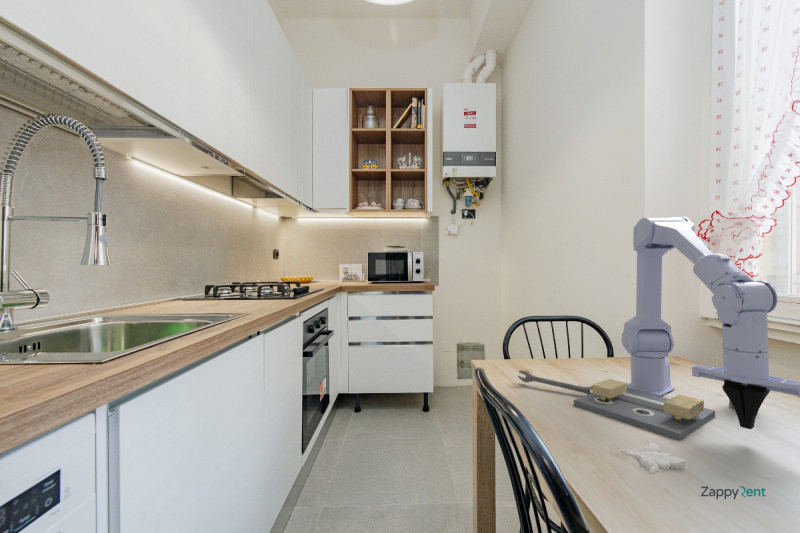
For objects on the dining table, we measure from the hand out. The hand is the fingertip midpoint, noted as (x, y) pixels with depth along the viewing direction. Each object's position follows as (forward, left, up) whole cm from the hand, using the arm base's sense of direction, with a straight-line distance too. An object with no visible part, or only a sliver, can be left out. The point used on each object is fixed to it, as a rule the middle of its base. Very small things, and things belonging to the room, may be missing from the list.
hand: (747, 426), depth 61 cm
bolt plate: (-1, -17, -3) cm, 17 cm away
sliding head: (0, -9, -1) cm, 9 cm away
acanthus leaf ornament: (+19, -7, -4) cm, 21 cm away
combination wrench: (+2, -35, -3) cm, 35 cm away
